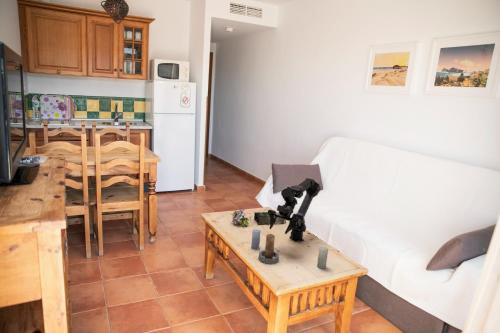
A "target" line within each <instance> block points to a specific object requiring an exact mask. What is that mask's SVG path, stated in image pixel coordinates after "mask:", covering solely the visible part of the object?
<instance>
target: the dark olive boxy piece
mask: <svg viewBox="0 0 500 333" xmlns="http://www.w3.org/2000/svg"><path fill="white" fill-rule="evenodd" d="M267 212H268V211H262V212H261V211H260V212H259V211H258V212H257V211H256V212H254V213H253V214H254V215H253V220H255V221H257V224H258V225H265V224H266V225H269V226H270V217H269V216H268V214H267ZM276 213H277V214H280V213H279V211H276ZM256 219H258V220H256ZM286 223H287V220H284V219H281V218H277V219H276V221H275V223H274V225H285V224H286Z"/></svg>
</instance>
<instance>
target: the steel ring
mask: <svg viewBox="0 0 500 333" xmlns="http://www.w3.org/2000/svg"><path fill="white" fill-rule="evenodd" d="M279 258H280V254H279V253H278V252H276V251H275V250H274V252H273V258H265V249H264V250H260V251H259V252H258V259H257V260H258V261H260V262H261V263H263V264H268V265H275V264H277V263H278V262H279Z"/></svg>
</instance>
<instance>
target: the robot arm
mask: <svg viewBox="0 0 500 333" xmlns="http://www.w3.org/2000/svg"><path fill="white" fill-rule="evenodd" d="M321 189H322V188H321V185H320V183H318V182H317V181H316V180H315V179H314V178H309V177H308V178H307V177H306V178H305V180H303V181H302V182H301V183H299V184H297V185H295V184H294V185H292V186H287V187H286V188H284V189H283V190H281V193H280V195H281V197H282V199H283V201H284V204H282V205H280V204H277V207H276V210H273V209H268V210H267V211H266V212H267V214H268V216H269V217H270V225H269V230H272V228H273V227H274V225H275V224H274V223H275V221H276V219H277V218H281V219H284V220H286V221H289V222H288V225H287V227H286V229H285V231H284V234H285V235H288V233H290V236H289V239H290V240H292V242H294V243H296V242H297V243H298V242H303V241H305V240H304V238H303V237H304V233H306V231H307V230H306V229H307V226H306V225H307V224H306V221H305V217H306V215H307V213H308V210H309V207H310V205H311V204H312V201H313V199H314V198H315V197H317V196H318V194H319V193H320V192H321ZM304 193H306V194H305V195H304ZM303 196H304V198H303V200H302V202H301V204H300V205H299V209H298V211H297V212H296V213H294V210H295V207H296V205H298V199H301V198H302V197H303ZM276 212H279V213H280V214H277V213H276Z"/></svg>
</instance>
